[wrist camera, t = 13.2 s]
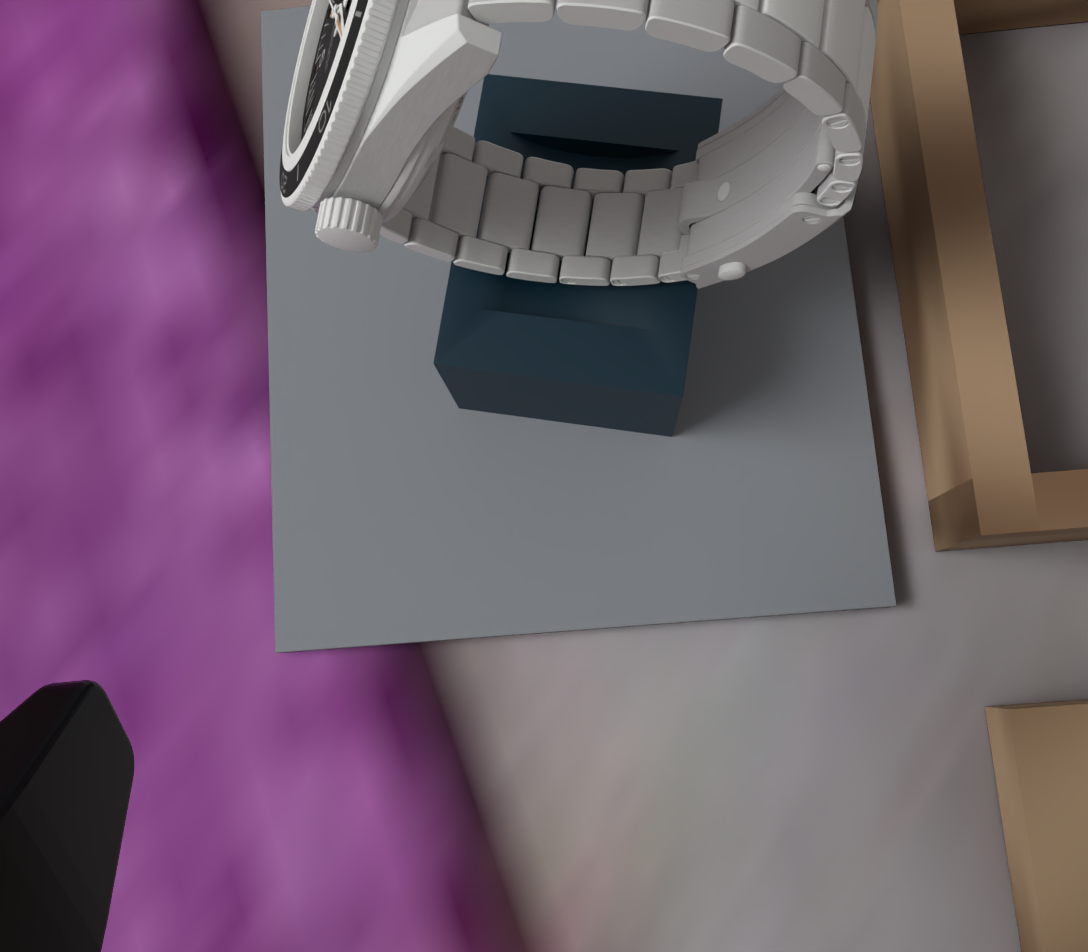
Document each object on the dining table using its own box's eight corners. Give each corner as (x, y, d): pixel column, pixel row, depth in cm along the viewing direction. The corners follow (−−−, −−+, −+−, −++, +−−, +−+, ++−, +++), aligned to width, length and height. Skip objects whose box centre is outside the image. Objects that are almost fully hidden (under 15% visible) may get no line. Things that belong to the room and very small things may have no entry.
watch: (411, 146, 22) (221, -359, 11) (791, 189, 21) (982, -307, 10) (364, 399, 21) (104, 114, 10) (760, 453, 20) (935, 208, 9)
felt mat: (890, 607, 20) (896, 606, 20) (282, 652, 20) (275, 652, 20) (804, -34, 23) (807, -47, 22) (266, 22, 23) (261, 11, 23)
